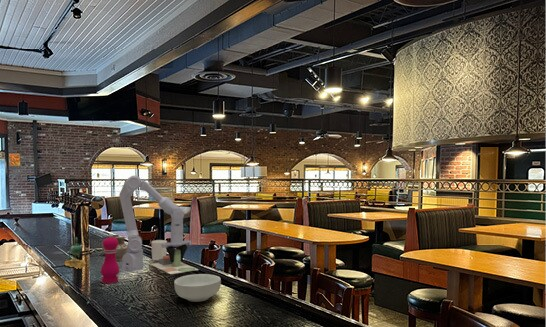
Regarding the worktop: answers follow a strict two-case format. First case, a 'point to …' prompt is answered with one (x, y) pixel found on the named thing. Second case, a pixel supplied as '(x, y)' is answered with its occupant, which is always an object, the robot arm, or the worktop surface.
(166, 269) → the picture board
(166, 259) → the button
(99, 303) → the worktop surface
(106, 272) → the pepper mill
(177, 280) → the cereal bowl
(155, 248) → the white cup
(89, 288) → the worktop surface
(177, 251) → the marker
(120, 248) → the pottery
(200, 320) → the worktop surface
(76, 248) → the frog figurine
